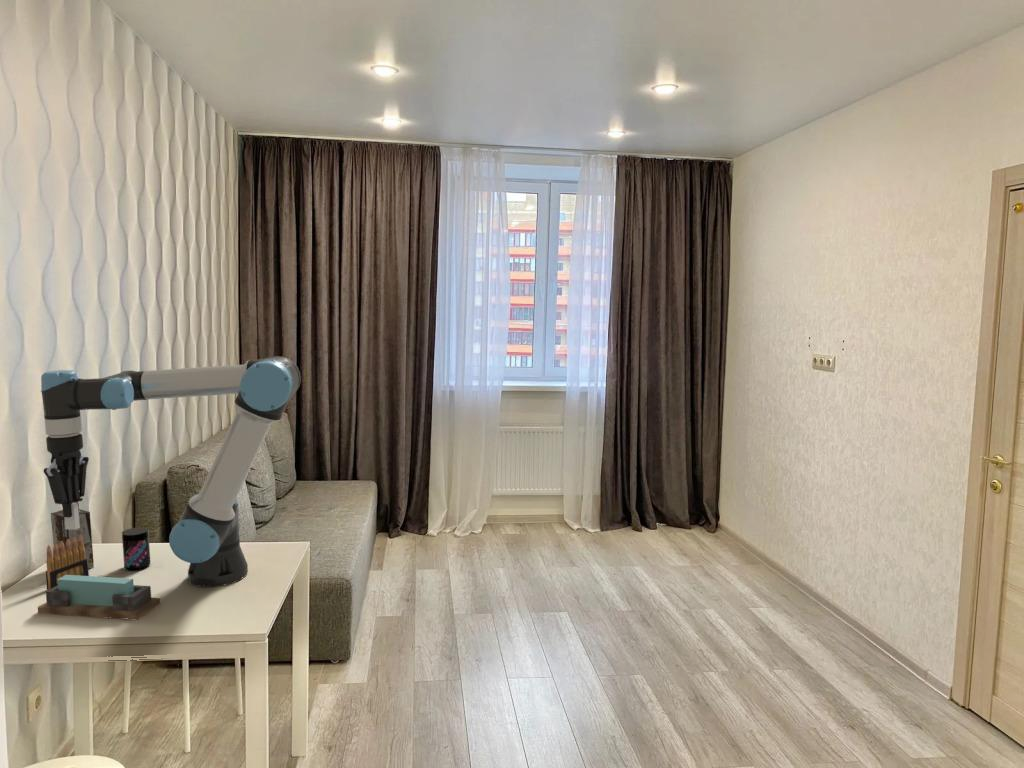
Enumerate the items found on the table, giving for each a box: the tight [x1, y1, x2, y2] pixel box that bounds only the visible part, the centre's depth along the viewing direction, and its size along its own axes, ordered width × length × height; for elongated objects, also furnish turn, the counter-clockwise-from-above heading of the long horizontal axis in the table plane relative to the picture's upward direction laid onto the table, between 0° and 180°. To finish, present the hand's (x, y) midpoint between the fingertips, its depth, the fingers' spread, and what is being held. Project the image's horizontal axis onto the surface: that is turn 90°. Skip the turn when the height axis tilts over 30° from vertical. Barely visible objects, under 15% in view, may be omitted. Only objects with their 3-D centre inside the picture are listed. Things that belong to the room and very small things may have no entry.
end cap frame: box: [37, 584, 161, 620], centre depth 180 cm, size 26×9×5 cm, turn 82°
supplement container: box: [121, 527, 151, 572], centre depth 206 cm, size 7×7×10 cm
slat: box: [57, 575, 135, 607], centre depth 180 cm, size 18×3×6 cm, turn 82°
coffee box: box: [50, 508, 95, 570], centre depth 205 cm, size 9×6×16 cm
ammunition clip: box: [45, 535, 90, 591], centre depth 195 cm, size 11×2×12 cm, turn 157°
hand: (72, 528), depth 182 cm, fingers closed
